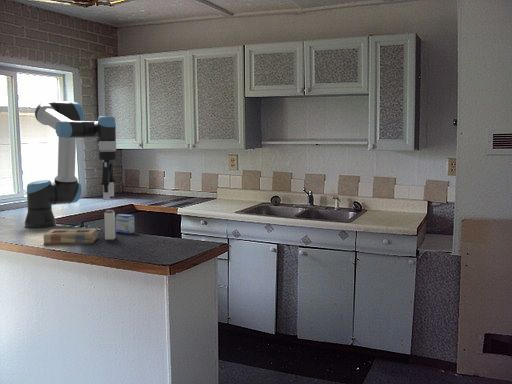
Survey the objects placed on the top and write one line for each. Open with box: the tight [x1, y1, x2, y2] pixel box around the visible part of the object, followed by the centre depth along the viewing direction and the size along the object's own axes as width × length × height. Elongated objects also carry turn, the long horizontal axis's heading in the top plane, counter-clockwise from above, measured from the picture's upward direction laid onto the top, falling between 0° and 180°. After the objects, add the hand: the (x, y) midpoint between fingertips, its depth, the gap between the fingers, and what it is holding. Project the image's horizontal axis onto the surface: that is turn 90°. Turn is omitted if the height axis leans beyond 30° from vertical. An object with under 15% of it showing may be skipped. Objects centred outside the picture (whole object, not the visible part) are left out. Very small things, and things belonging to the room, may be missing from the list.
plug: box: [103, 209, 116, 240], centre depth 241 cm, size 4×4×13 cm
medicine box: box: [115, 213, 135, 234], centre depth 256 cm, size 8×4×9 cm, turn 70°
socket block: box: [43, 227, 98, 246], centre depth 234 cm, size 14×20×5 cm
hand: (108, 198), depth 239 cm, fingers open, 13 cm apart
